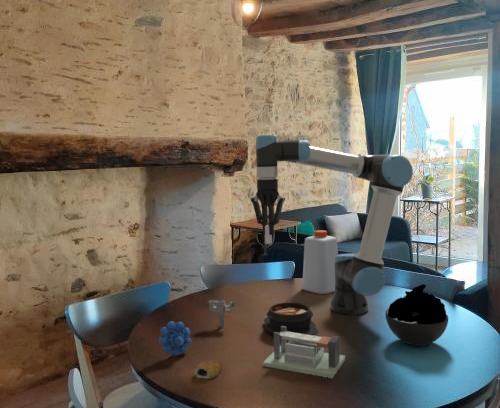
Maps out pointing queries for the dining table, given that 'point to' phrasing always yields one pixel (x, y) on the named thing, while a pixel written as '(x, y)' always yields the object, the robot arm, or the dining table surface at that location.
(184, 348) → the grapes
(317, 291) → the plastic bottle
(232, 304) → the mechanical component
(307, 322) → the casserole
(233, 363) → the dining table surface
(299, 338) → the retention strap
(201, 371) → the pastry
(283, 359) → the circuit board
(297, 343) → the heat sink
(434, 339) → the coal bowl
